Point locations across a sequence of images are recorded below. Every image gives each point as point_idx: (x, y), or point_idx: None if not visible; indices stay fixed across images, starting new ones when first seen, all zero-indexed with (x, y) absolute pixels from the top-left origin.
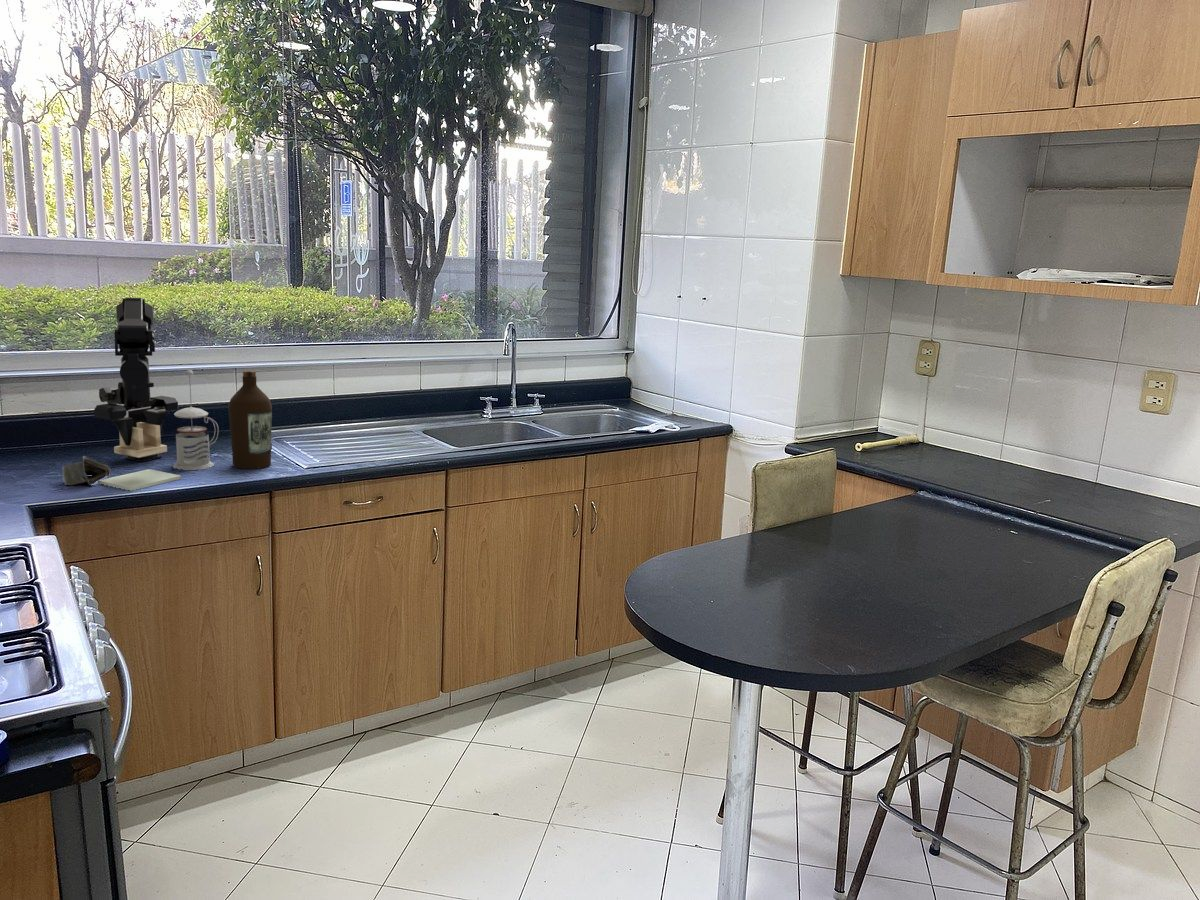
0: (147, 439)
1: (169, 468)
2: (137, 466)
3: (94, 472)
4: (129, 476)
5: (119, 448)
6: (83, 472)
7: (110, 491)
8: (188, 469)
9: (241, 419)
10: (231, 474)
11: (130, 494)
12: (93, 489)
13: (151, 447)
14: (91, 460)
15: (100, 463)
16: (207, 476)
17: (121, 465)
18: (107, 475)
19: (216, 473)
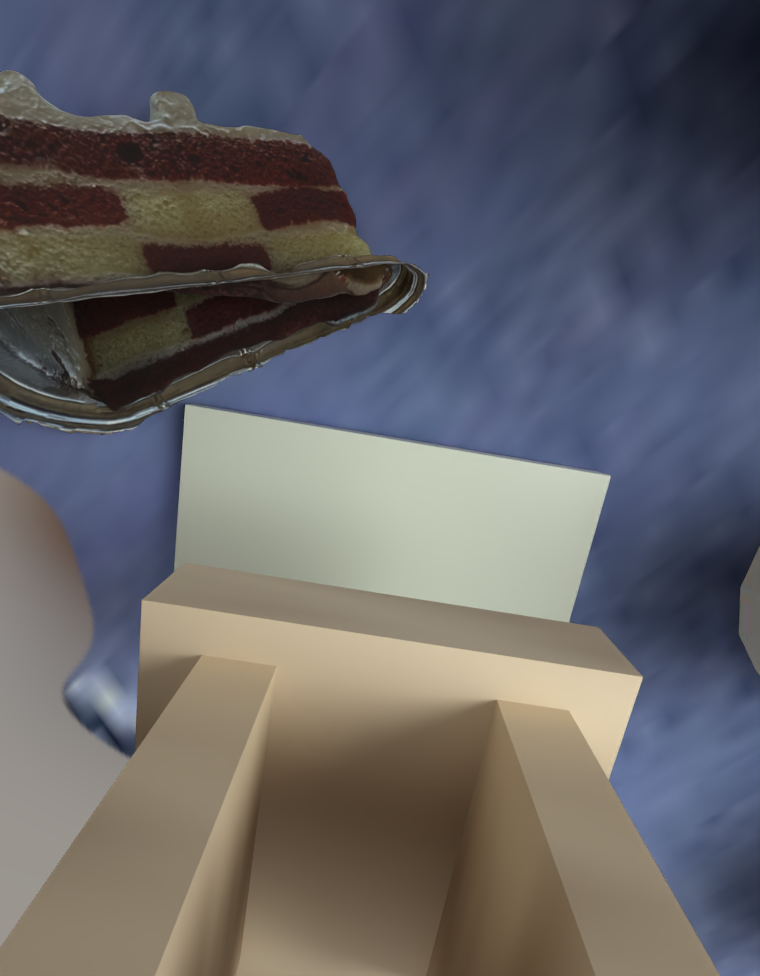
0: (468, 955)
1: (746, 514)
2: (733, 265)
3: (323, 214)
4: (374, 510)
5: (145, 691)
6: (37, 355)
7: (110, 596)
8: (747, 643)
9: None
10: (716, 888)
11: (126, 724)
12: (86, 479)
13: (357, 966)
14: (133, 290)
15: (304, 271)
16: (630, 817)
17: (726, 115)
18: (388, 295)
19: (712, 817)
